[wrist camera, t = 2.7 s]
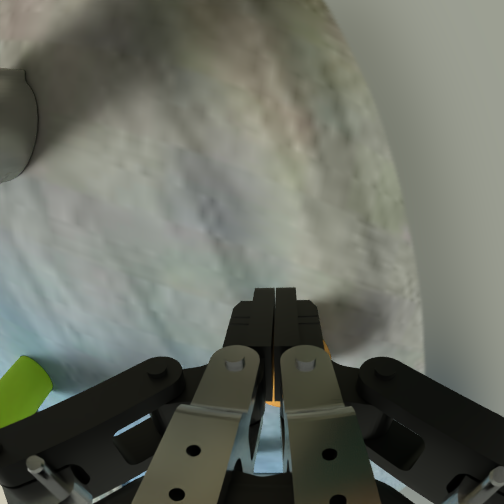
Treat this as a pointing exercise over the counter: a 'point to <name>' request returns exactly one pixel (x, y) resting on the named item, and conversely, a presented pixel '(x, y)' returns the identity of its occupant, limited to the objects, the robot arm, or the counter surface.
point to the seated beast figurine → (106, 494)
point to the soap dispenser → (22, 390)
